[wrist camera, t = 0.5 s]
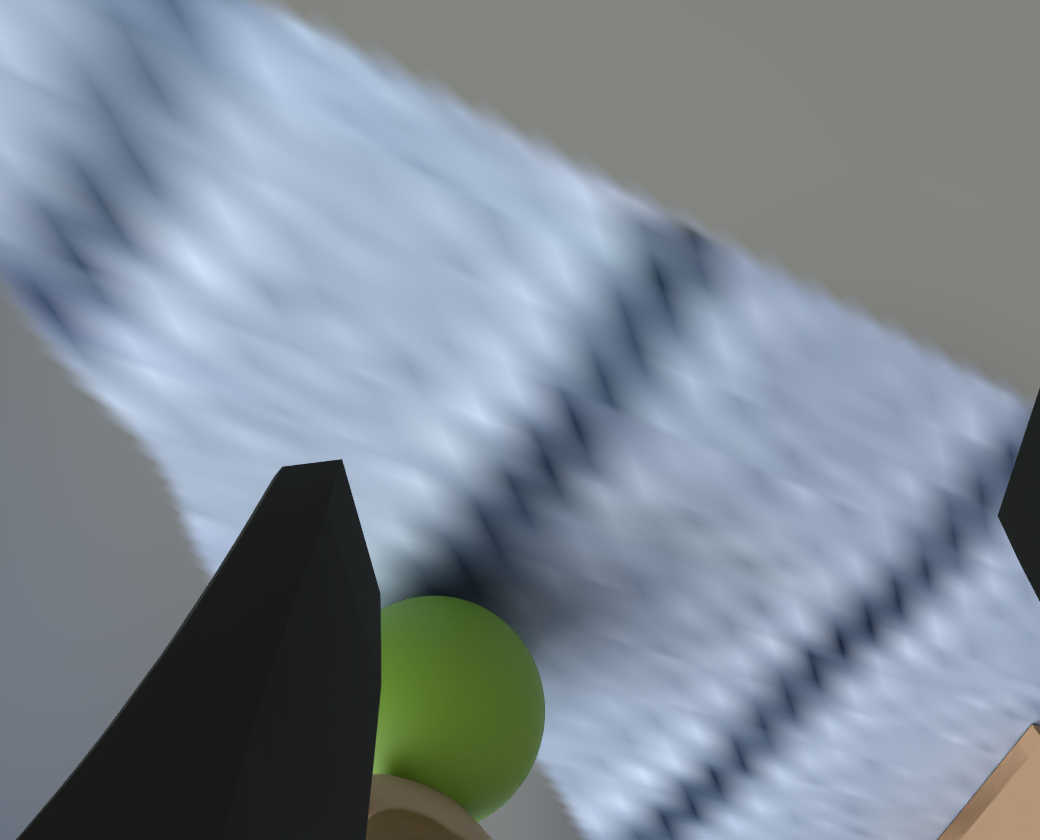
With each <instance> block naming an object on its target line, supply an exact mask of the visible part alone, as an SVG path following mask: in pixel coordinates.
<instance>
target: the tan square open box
mask: <svg viewBox="0 0 1040 840" xmlns="http://www.w3.org/2000/svg"><path fill="white" fill-rule="evenodd" d="M938 840H1040V726H1037V725H1031V726H1030V728H1029V729H1028V730H1027V731H1026V733H1025V734H1024V735H1023V736H1022V737H1021V739H1020V740H1019V741H1018V742H1017V744H1016V745H1015V746H1014V747H1013V748H1012V750H1011V751H1010V752H1009V753H1008V755H1007V756H1006V757H1005V758H1004V759H1003V761H1002V762H1001V763H1000V764H999V766H998V767H997V768H996V769H995V771H994V772H993V773H992V774H991V775H990V777H989V778H988V779H987V780H986V782H985V783H984V784H983V785H982V786H981V788H980V789H979V790H978V791H977V793H976V794H975V795H974V796H973V797H972V799H971V800H970V801H969V802H968V804H967V805H966V806H965V807H964V808H963V810H962V811H961V812H960V813H959V815H958V816H957V817H956V818H955V820H954V821H953V822H952V823H951V824H950V826H949V827H948V828H947V829H946V831H945V832H944V833H943V834H942V835H941V837H940V838H939V839H938Z"/></svg>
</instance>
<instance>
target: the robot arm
mask: <svg viewBox="0 0 1040 840" xmlns="http://www.w3.org/2000/svg"><path fill="white" fill-rule="evenodd" d="M998 517H999V519H1000V522H1001V524H1002V526H1003V528H1004V530H1005V532H1006V534H1007V537H1008V539H1009V541H1010V543H1011V545H1012V547H1013V549H1014V552H1015V554H1016V556H1017V558H1018V560H1019V562H1020V564H1021V566H1022V568H1023V570H1024V572H1025V574H1026V576H1027V578H1028V580H1029V582H1030V583H1031V585H1032V587H1033V589H1034V591H1035V593H1036V595H1037V597H1038V599H1039V601H1040V389H1039V392H1038V395H1037V398H1036V401H1035V404H1034V407H1033V410H1032V414H1031V417H1030V420H1029V423H1028V426H1027V429H1026V432H1025V435H1024V438H1023V441H1022V444H1021V447H1020V450H1019V453H1018V456H1017V459H1016V462H1015V465H1014V468H1013V471H1012V474H1011V477H1010V480H1009V483H1008V486H1007V489H1006V492H1005V495H1004V498H1003V501H1002V504H1001V508H1000V511H999V514H998ZM381 684H382V682H381V603H380V591H379V588H378V584H377V581H376V577H375V573H374V570H373V566H372V563H371V559H370V556H369V552H368V549H367V545H366V542H365V538H364V535H363V531H362V528H361V524H360V521H359V517H358V514H357V510H356V507H355V503H354V500H353V496H352V493H351V489H350V486H349V482H348V479H347V475H346V472H345V468H344V465H343V461H342V459H341V460H333V461H325V462H317V463H309V464H301V465H293V466H285V467H282V468H281V469H280V470H279V472H278V473H277V474H276V475H275V476H274V478H273V479H272V481H271V483H270V484H269V486H268V488H267V490H266V491H265V493H264V495H263V496H262V498H261V500H260V501H259V503H258V505H257V506H256V508H255V510H254V511H253V513H252V515H251V516H250V518H249V520H248V521H247V523H246V525H245V526H244V528H243V530H242V531H241V533H240V535H239V536H238V538H237V540H236V541H235V543H234V544H233V546H232V548H231V549H230V551H229V553H228V554H227V556H226V557H225V559H224V561H223V562H222V564H221V565H220V567H219V569H218V570H217V572H216V573H215V575H214V577H213V578H212V580H211V581H210V583H209V584H208V586H207V587H206V589H205V590H204V592H203V593H202V595H201V596H200V598H199V599H198V601H197V602H196V604H195V605H194V607H193V608H192V610H191V611H190V613H189V614H188V616H187V617H186V619H185V620H184V622H183V624H182V625H181V627H180V628H179V630H178V631H177V633H176V634H175V636H174V637H173V639H172V640H171V642H170V643H169V644H168V646H167V647H166V649H165V650H164V652H163V653H162V655H161V656H160V657H159V659H158V660H157V661H156V663H155V664H154V665H153V667H152V668H151V670H150V671H149V672H148V674H147V675H146V676H145V678H144V679H143V680H142V682H141V683H140V684H139V686H138V687H137V689H136V690H135V691H134V693H133V694H132V695H131V697H130V698H129V700H128V701H127V702H126V704H125V705H124V706H123V708H122V709H121V710H120V712H119V713H118V715H117V716H116V717H115V719H114V720H113V721H112V723H111V724H110V726H109V727H108V728H107V729H106V731H105V732H104V733H103V735H102V736H101V737H100V739H99V740H98V741H97V742H96V744H95V745H94V746H93V747H92V749H91V750H90V751H89V752H88V754H87V755H86V756H85V757H84V759H83V760H82V761H81V763H80V764H79V765H78V766H77V768H76V769H75V770H74V771H73V772H72V774H71V775H70V776H69V777H68V779H67V780H66V781H65V782H64V784H63V785H62V786H61V787H60V788H59V790H58V791H57V792H56V793H55V794H54V796H53V797H52V798H51V799H50V800H49V802H48V803H47V804H46V805H45V806H44V807H43V809H42V810H41V811H40V812H39V813H38V814H37V816H36V817H35V818H34V819H33V820H32V822H31V823H30V824H29V825H28V826H27V827H26V829H25V830H24V831H23V832H22V833H21V834H20V836H19V837H18V838H17V839H16V840H366V832H367V822H368V813H369V803H370V794H371V784H372V775H373V765H374V755H375V745H376V736H377V726H378V716H379V705H380V695H381Z"/></svg>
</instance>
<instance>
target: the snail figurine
mask: <svg viewBox="0 0 1040 840" xmlns="http://www.w3.org/2000/svg"><path fill="white" fill-rule="evenodd" d="M381 682H382V684H381V695H380V705H379V716H378V726H377V736H376V745H375V755H374V765H373V775H372V784H371V794H370V803H369V813H368V822H367V832H366V840H493V839H492V838H491V837H490V836H489V835H488V834H487V833H486V832H485V831H484V829H483V828H482V827H481V826H480V825H479V824H478V823H477V822H479V821H481V820H483V819H485V818H486V817H488V816H489V815H491V814H492V813H494V812H495V811H496V810H498V809H499V808H500V807H501V806H503V805H504V804H505V803H506V802H507V801H508V800H509V799H510V798H511V797H512V796H513V795H514V793H515V792H516V791H517V790H518V788H519V787H520V786H521V784H522V783H523V781H524V780H525V779H526V777H527V775H528V773H529V772H530V770H531V768H532V766H533V764H534V762H535V759H536V757H537V754H538V751H539V748H540V744H541V740H542V736H543V730H544V722H545V702H544V693H543V687H542V682H541V679H540V675H539V672H538V669H537V667H536V664H535V662H534V660H533V658H532V656H531V654H530V652H529V650H528V649H527V647H526V645H525V644H524V642H523V641H522V640H521V638H520V637H519V636H518V635H517V633H516V632H515V631H514V630H513V629H512V628H511V627H510V626H509V625H508V624H507V623H506V622H504V621H503V620H502V619H501V618H499V617H498V616H497V615H495V614H494V613H492V612H491V611H489V610H487V609H485V608H484V607H482V606H479V605H477V604H475V603H472V602H469V601H466V600H463V599H459V598H454V597H448V596H421V597H414V598H409V599H405V600H402V601H399V602H396V603H393V604H391V605H389V606H387V607H384V608H382V609H381Z"/></svg>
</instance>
